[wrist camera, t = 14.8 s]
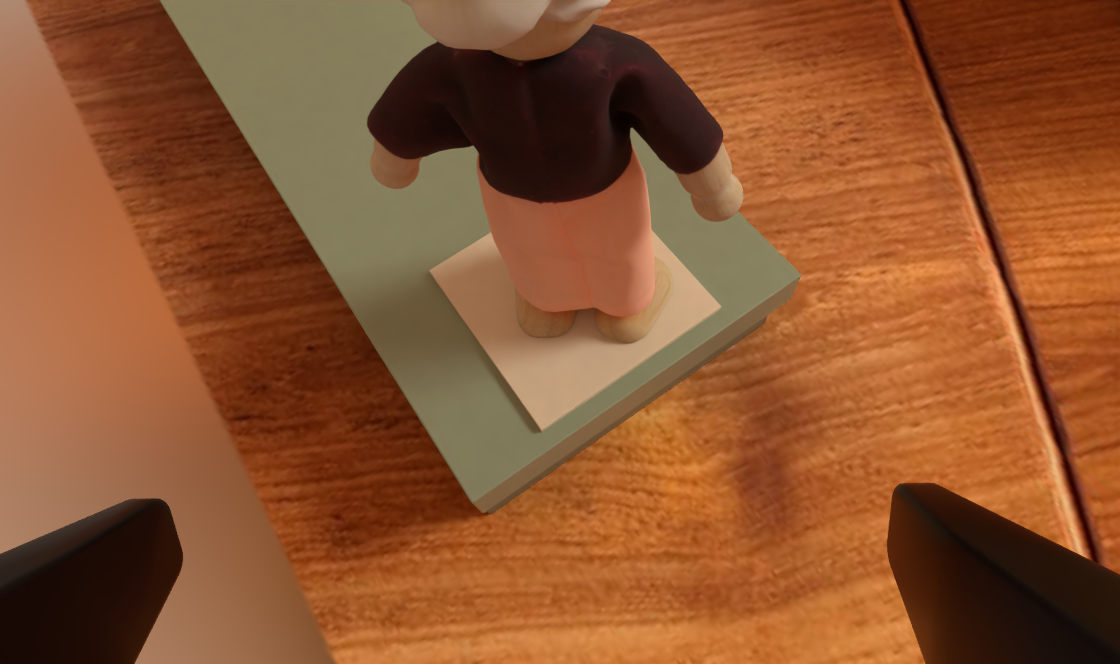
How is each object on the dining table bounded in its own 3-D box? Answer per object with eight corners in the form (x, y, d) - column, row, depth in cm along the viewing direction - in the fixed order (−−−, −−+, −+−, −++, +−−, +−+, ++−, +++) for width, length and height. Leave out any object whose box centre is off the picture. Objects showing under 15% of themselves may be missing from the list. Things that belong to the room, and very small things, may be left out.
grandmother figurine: (699, 225, 20) (787, -326, 9) (718, 345, 19) (852, -139, 7) (440, 247, 21) (208, -247, 10) (435, 366, 19) (151, -56, 8)
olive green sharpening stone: (775, 334, 23) (804, 271, 20) (498, 529, 22) (469, 501, 18) (348, -124, 36) (315, -216, 32) (149, -25, 34) (89, -111, 30)
